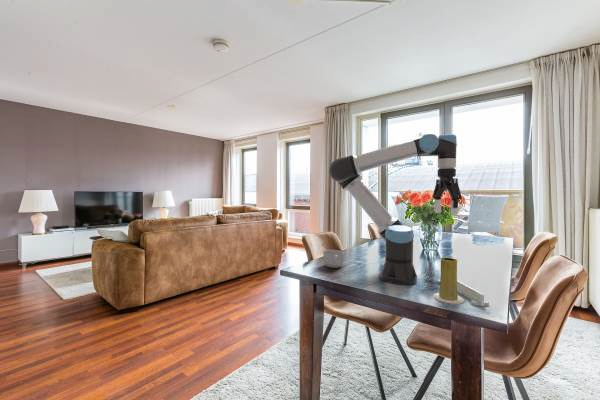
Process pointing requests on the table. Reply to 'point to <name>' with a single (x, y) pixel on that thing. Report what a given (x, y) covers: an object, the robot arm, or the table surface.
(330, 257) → the teacup
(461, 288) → the acrylic wall
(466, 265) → the table surface
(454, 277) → the vase
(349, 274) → the table surface
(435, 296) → the coaster
